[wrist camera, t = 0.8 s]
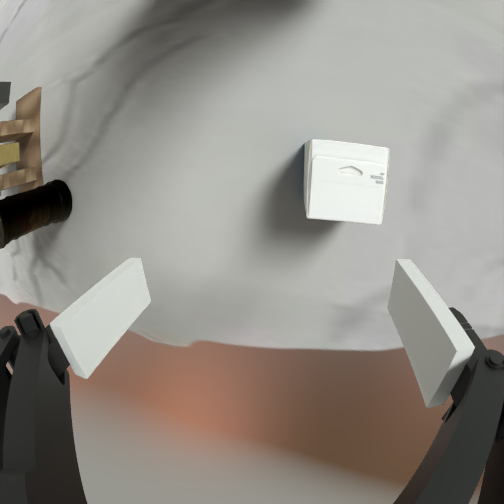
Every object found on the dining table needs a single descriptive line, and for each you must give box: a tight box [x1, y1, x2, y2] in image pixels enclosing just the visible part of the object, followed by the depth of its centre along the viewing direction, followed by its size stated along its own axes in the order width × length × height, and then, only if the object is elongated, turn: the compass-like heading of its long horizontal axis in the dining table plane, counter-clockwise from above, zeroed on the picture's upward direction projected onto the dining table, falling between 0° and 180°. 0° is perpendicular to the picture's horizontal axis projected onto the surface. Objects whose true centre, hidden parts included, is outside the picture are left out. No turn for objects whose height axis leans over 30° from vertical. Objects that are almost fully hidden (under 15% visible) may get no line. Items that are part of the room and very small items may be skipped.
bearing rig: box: [0, 87, 43, 193], centre depth 34 cm, size 24×10×15 cm, turn 2°
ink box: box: [304, 140, 389, 225], centre depth 31 cm, size 9×8×12 cm
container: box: [0, 180, 72, 249], centre depth 37 cm, size 9×9×18 cm
